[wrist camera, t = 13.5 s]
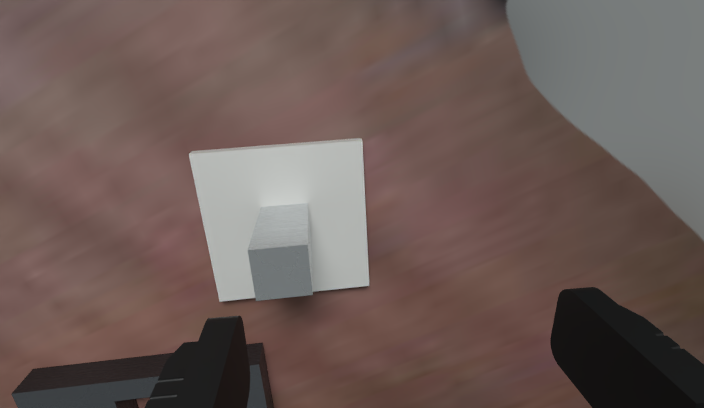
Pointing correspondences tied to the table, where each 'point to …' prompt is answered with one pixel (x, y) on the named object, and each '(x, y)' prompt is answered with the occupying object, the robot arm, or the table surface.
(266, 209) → the tall gray box
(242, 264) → the off-white plate
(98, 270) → the table surface
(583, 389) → the robot arm
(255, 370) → the dark grey flat block
